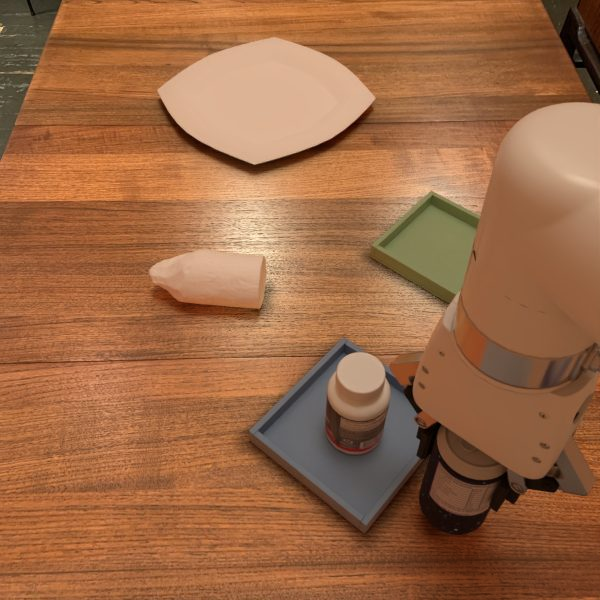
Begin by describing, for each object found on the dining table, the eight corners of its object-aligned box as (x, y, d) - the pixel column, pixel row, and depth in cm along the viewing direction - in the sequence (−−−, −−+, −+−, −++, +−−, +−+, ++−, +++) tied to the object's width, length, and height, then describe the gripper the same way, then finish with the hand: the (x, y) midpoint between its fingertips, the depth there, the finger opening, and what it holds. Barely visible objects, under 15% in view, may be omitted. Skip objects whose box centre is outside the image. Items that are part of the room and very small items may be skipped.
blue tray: (453, 422, 61) (456, 412, 60) (364, 534, 55) (366, 526, 53) (342, 347, 67) (343, 336, 65) (249, 440, 60) (248, 430, 59)
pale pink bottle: (161, 269, 73) (152, 233, 69) (267, 277, 73) (265, 242, 68) (148, 311, 70) (138, 276, 65) (259, 320, 69) (257, 285, 65)
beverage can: (499, 517, 54) (537, 449, 45) (445, 552, 53) (473, 488, 44) (456, 463, 58) (483, 389, 49) (404, 494, 56) (421, 423, 47)
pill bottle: (324, 403, 62) (327, 343, 55) (380, 404, 62) (392, 344, 55) (324, 456, 59) (328, 400, 51) (384, 457, 59) (397, 401, 51)
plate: (134, 100, 94) (131, 88, 93) (277, 36, 106) (277, 24, 104) (251, 194, 81) (251, 182, 80) (400, 110, 93) (401, 98, 91)
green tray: (517, 248, 76) (521, 237, 74) (461, 311, 70) (464, 300, 68) (428, 201, 81) (431, 190, 79) (369, 256, 75) (371, 245, 73)
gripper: (706, 362, 34) (593, 503, 48) (430, 220, 42) (401, 377, 56) (650, 463, 31) (546, 584, 45) (359, 287, 38) (346, 438, 52)
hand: (466, 468), depth 50 cm, fingers closed on beverage can, 5 cm apart
